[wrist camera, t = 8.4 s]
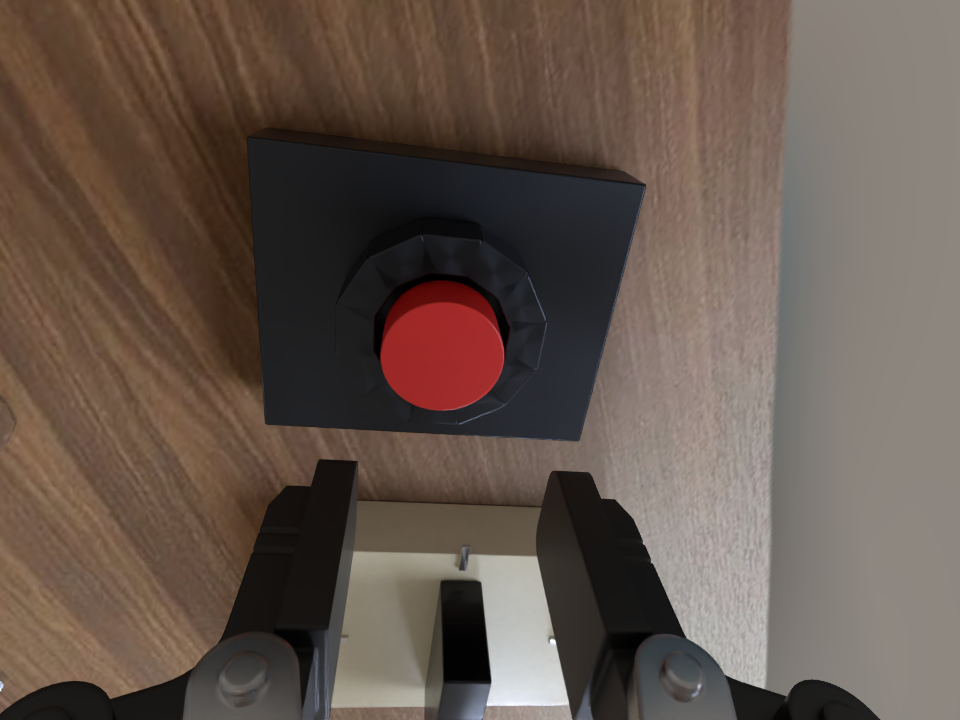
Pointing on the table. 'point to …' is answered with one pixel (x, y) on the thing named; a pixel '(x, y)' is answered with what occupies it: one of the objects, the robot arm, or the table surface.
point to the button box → (431, 276)
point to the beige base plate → (414, 595)
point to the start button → (441, 346)
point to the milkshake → (5, 424)
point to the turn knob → (458, 655)
